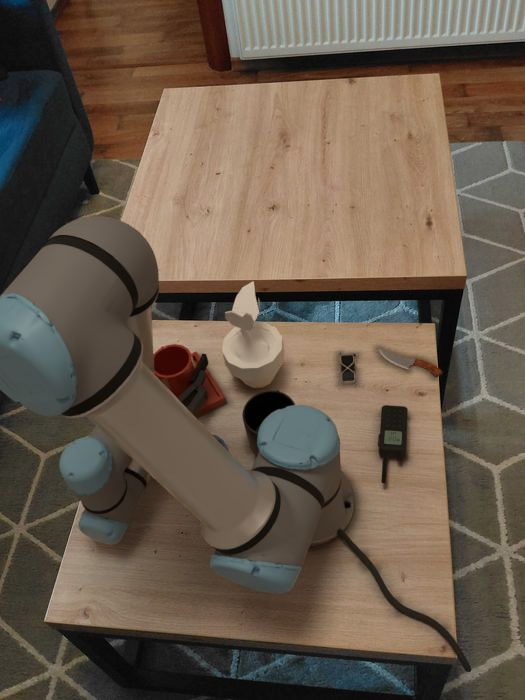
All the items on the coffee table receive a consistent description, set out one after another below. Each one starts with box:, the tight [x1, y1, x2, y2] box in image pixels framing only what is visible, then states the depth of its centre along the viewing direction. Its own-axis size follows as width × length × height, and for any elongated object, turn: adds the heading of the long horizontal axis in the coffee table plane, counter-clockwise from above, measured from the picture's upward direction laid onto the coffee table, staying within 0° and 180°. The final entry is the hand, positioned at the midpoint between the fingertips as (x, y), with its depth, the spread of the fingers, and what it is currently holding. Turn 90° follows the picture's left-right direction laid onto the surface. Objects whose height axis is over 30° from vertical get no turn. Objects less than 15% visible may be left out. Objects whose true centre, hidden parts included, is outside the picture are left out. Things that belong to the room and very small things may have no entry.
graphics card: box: [339, 352, 357, 385], centre depth 126 cm, size 7×1×3 cm
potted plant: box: [221, 280, 285, 389], centre depth 119 cm, size 13×12×25 cm
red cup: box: [153, 343, 196, 407], centre depth 124 cm, size 8×8×10 cm
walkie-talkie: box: [377, 404, 408, 485], centre depth 113 cm, size 5×3×15 cm
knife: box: [378, 348, 443, 377], centre depth 126 cm, size 13×1×3 cm
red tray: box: [186, 351, 228, 419], centre depth 127 cm, size 14×13×2 cm
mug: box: [241, 389, 296, 457], centre depth 116 cm, size 9×12×9 cm
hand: (185, 354), depth 126 cm, fingers closed on red cup, 8 cm apart
